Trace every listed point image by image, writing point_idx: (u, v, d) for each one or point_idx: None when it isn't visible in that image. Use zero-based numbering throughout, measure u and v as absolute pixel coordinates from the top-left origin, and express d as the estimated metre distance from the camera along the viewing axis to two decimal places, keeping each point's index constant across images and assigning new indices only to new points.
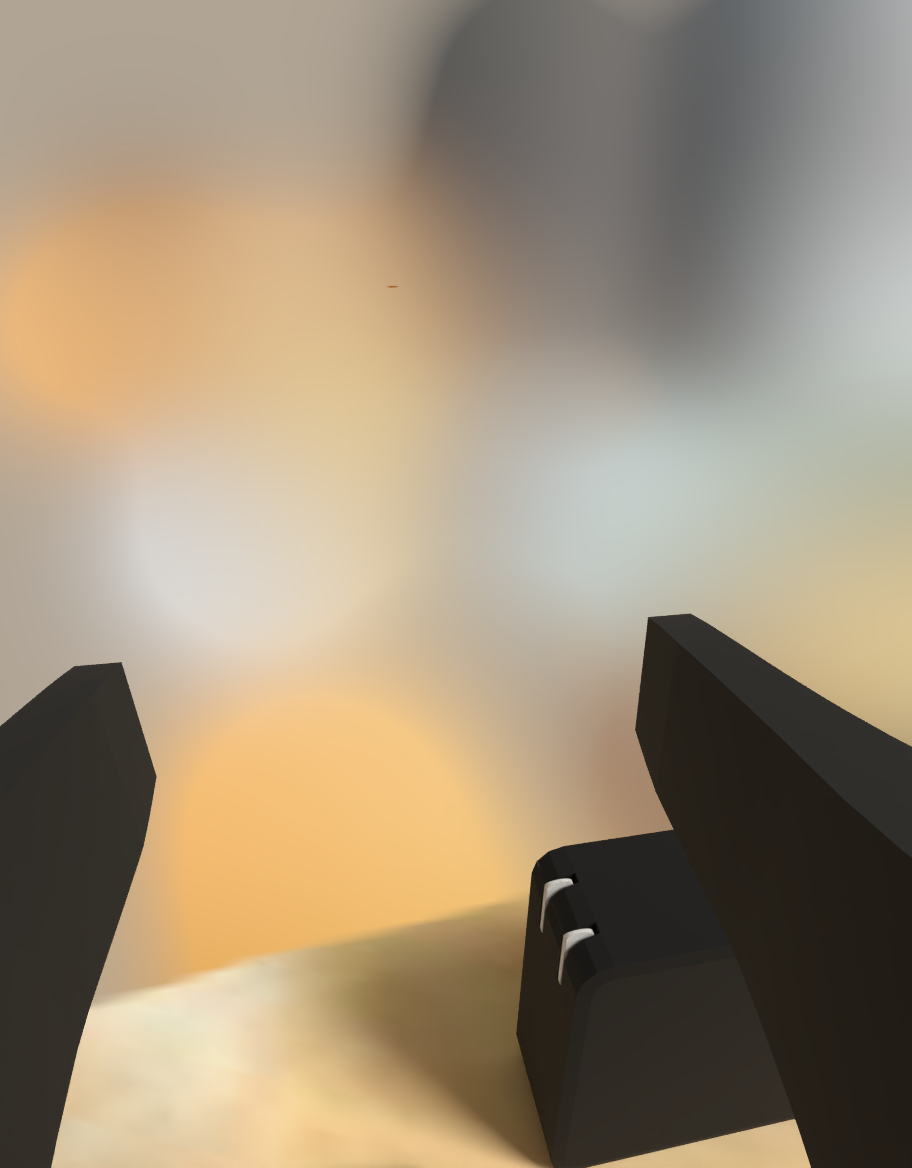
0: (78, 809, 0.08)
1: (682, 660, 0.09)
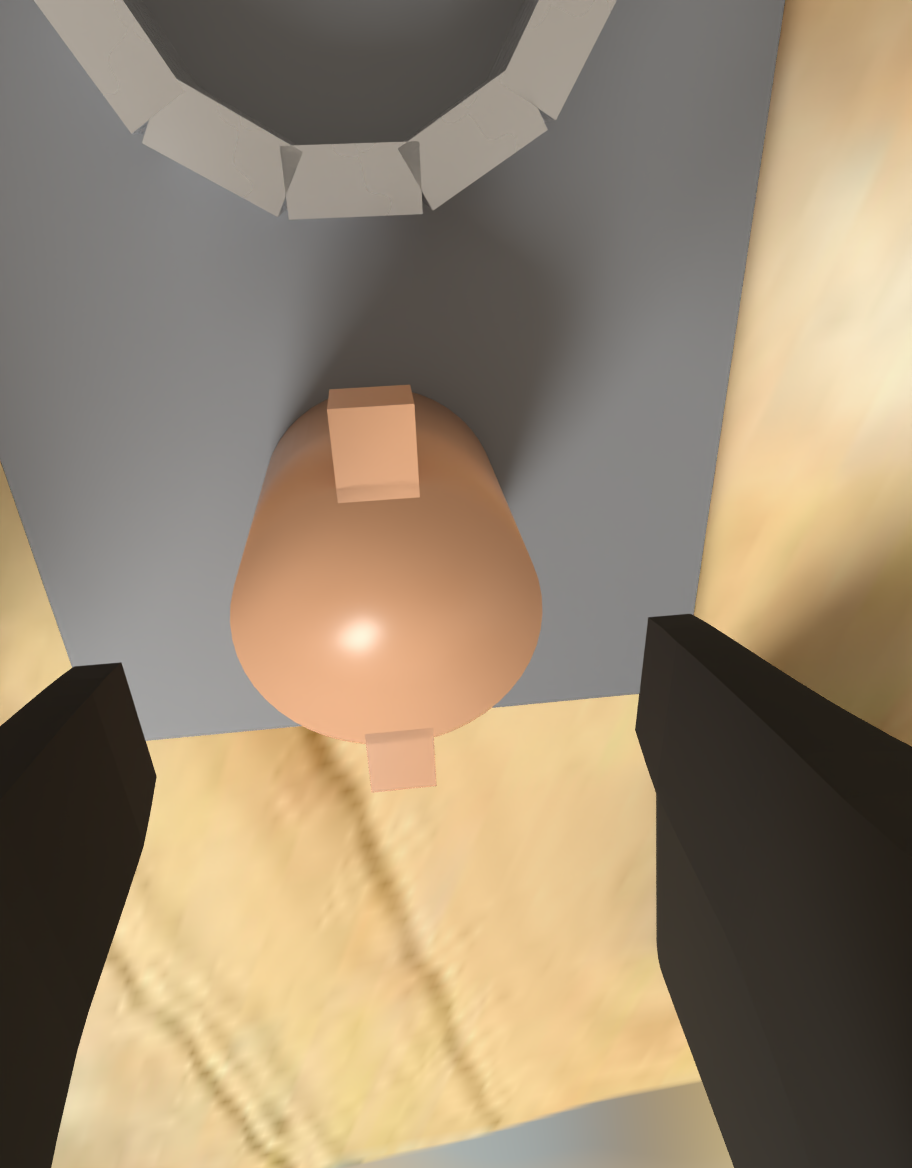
0: (78, 809, 0.08)
1: (682, 660, 0.09)
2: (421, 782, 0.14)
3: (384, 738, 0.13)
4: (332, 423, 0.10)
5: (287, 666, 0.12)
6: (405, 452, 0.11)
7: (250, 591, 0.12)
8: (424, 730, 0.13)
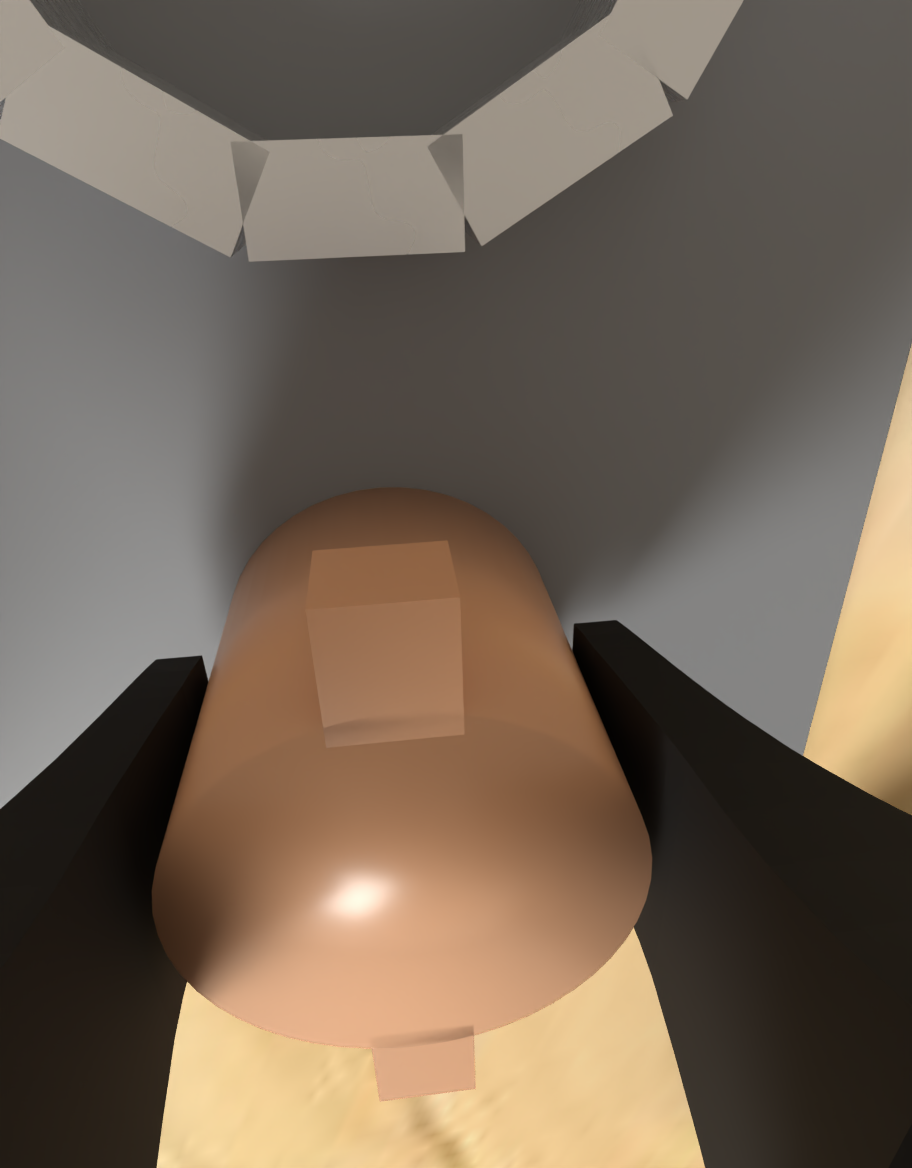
0: (172, 800, 0.09)
1: (599, 667, 0.09)
2: (454, 1085, 0.09)
3: (401, 1041, 0.09)
4: (315, 631, 0.06)
5: (248, 964, 0.08)
6: (442, 670, 0.06)
7: (184, 872, 0.07)
8: (461, 1027, 0.09)
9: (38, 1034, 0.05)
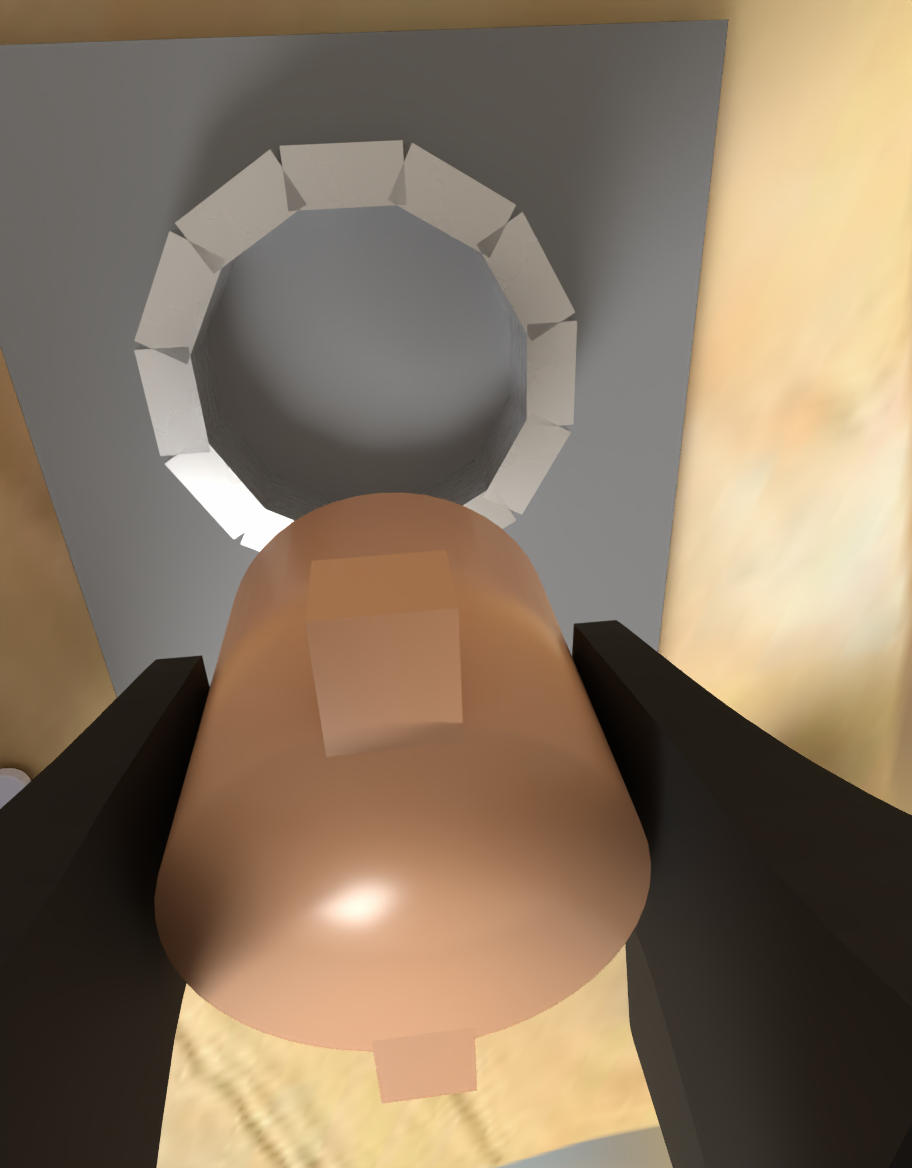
0: (172, 800, 0.09)
1: (599, 667, 0.09)
2: (455, 1087, 0.10)
3: (402, 1043, 0.09)
4: (315, 643, 0.06)
5: (250, 970, 0.08)
6: (441, 680, 0.06)
7: (186, 880, 0.07)
8: (461, 1031, 0.09)
9: (38, 1033, 0.05)
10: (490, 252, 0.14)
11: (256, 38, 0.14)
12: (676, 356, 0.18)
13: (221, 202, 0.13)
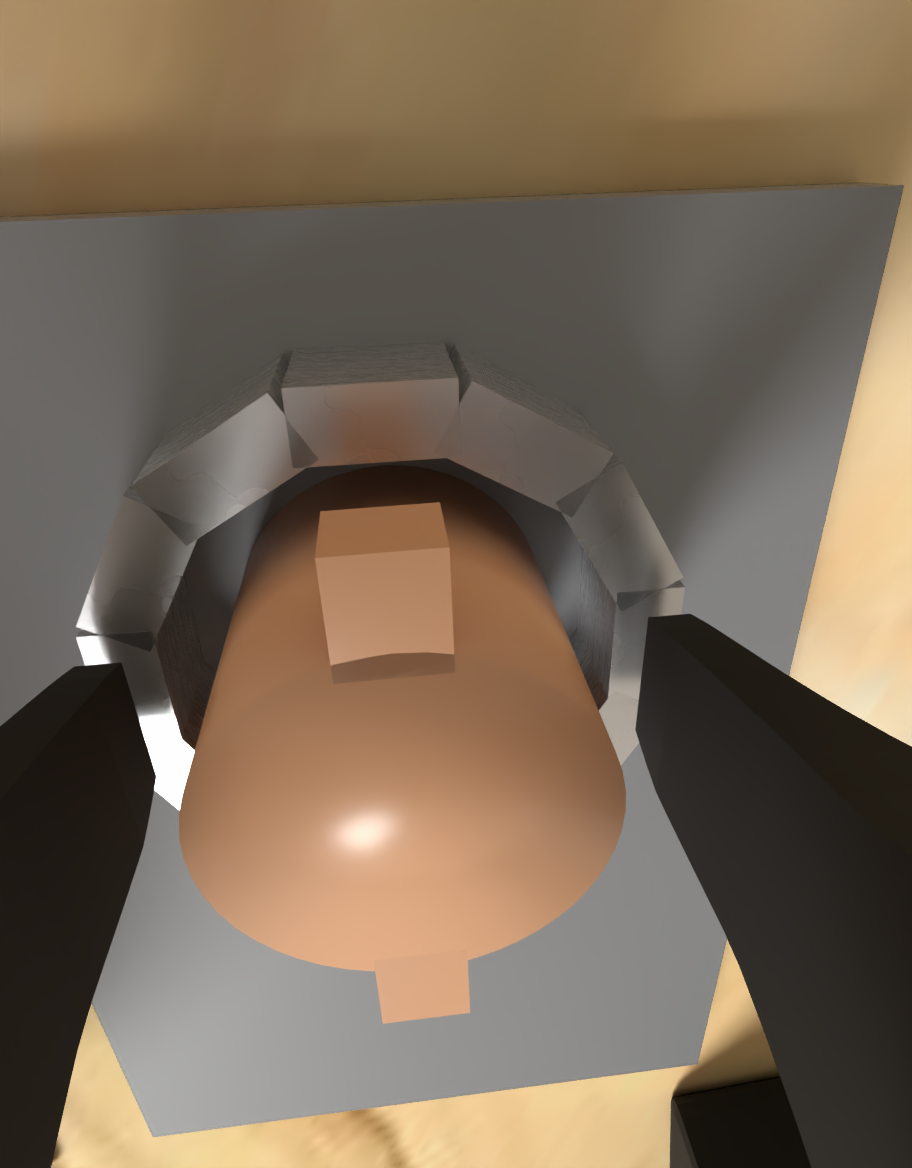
0: (78, 809, 0.08)
1: (682, 660, 0.09)
2: (450, 1009, 0.10)
3: (400, 965, 0.10)
4: (323, 577, 0.07)
5: (264, 888, 0.09)
6: (434, 613, 0.07)
7: (207, 800, 0.08)
8: (455, 952, 0.10)
9: None
10: (573, 511, 0.10)
11: (250, 214, 0.10)
12: (792, 583, 0.14)
13: (197, 460, 0.09)
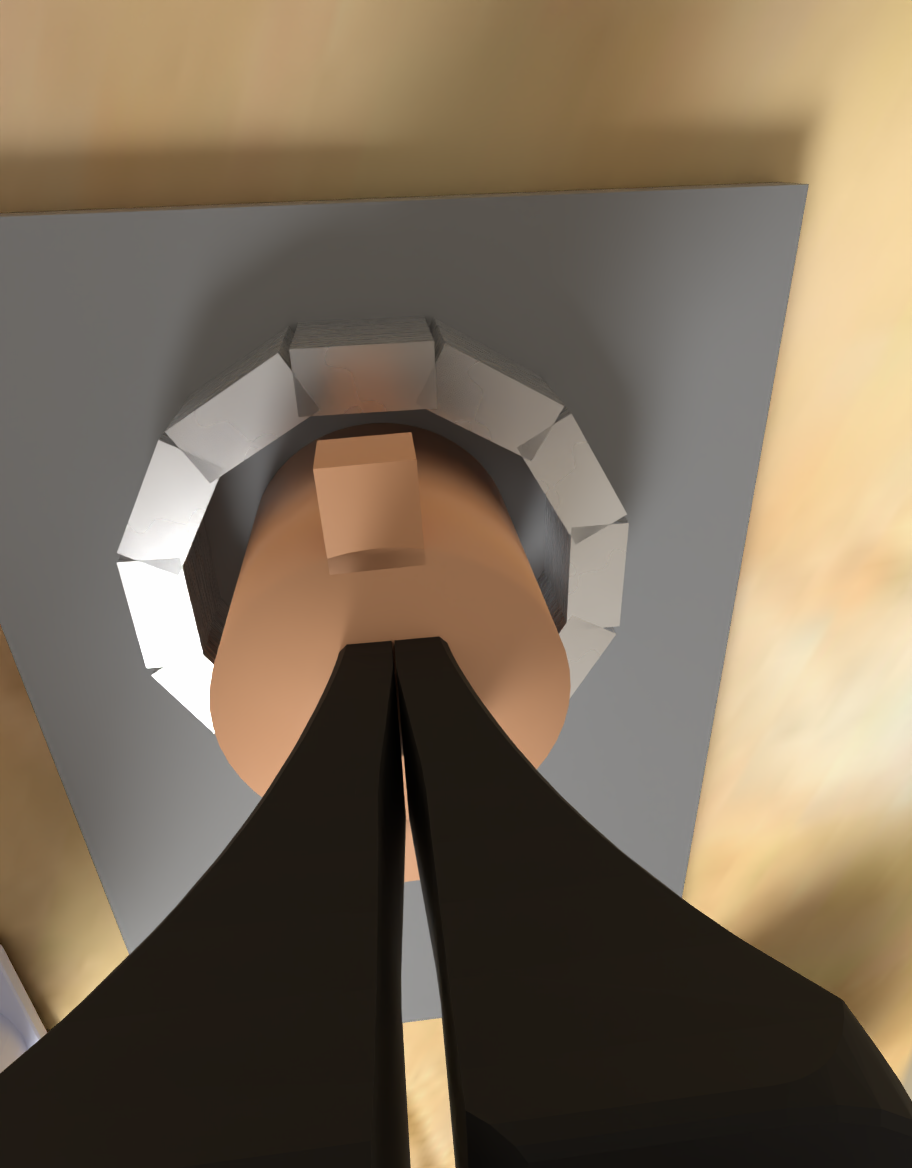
0: (393, 777, 0.09)
1: (399, 686, 0.09)
2: None
3: None
4: (319, 485, 0.09)
5: (278, 755, 0.11)
6: (407, 515, 0.09)
7: (231, 675, 0.10)
8: None
9: (385, 992, 0.06)
10: (532, 455, 0.12)
11: (262, 208, 0.12)
12: (731, 530, 0.16)
13: (219, 409, 0.11)
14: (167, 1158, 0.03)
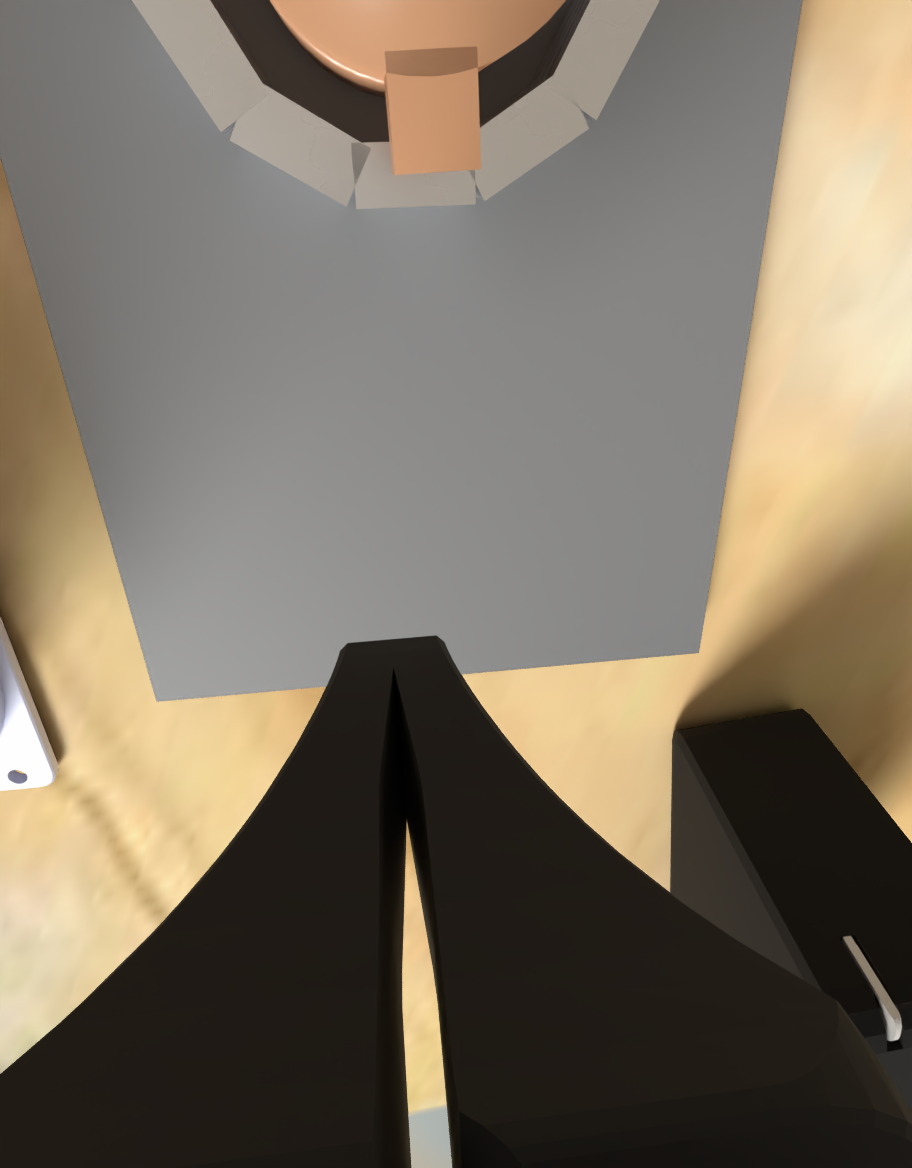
0: (394, 777, 0.09)
1: (396, 686, 0.09)
2: (461, 159, 0.10)
3: (411, 63, 0.10)
4: None
5: None
6: None
7: None
8: (466, 50, 0.10)
9: (386, 991, 0.06)
10: None
11: None
12: None
13: None
14: (169, 1158, 0.03)
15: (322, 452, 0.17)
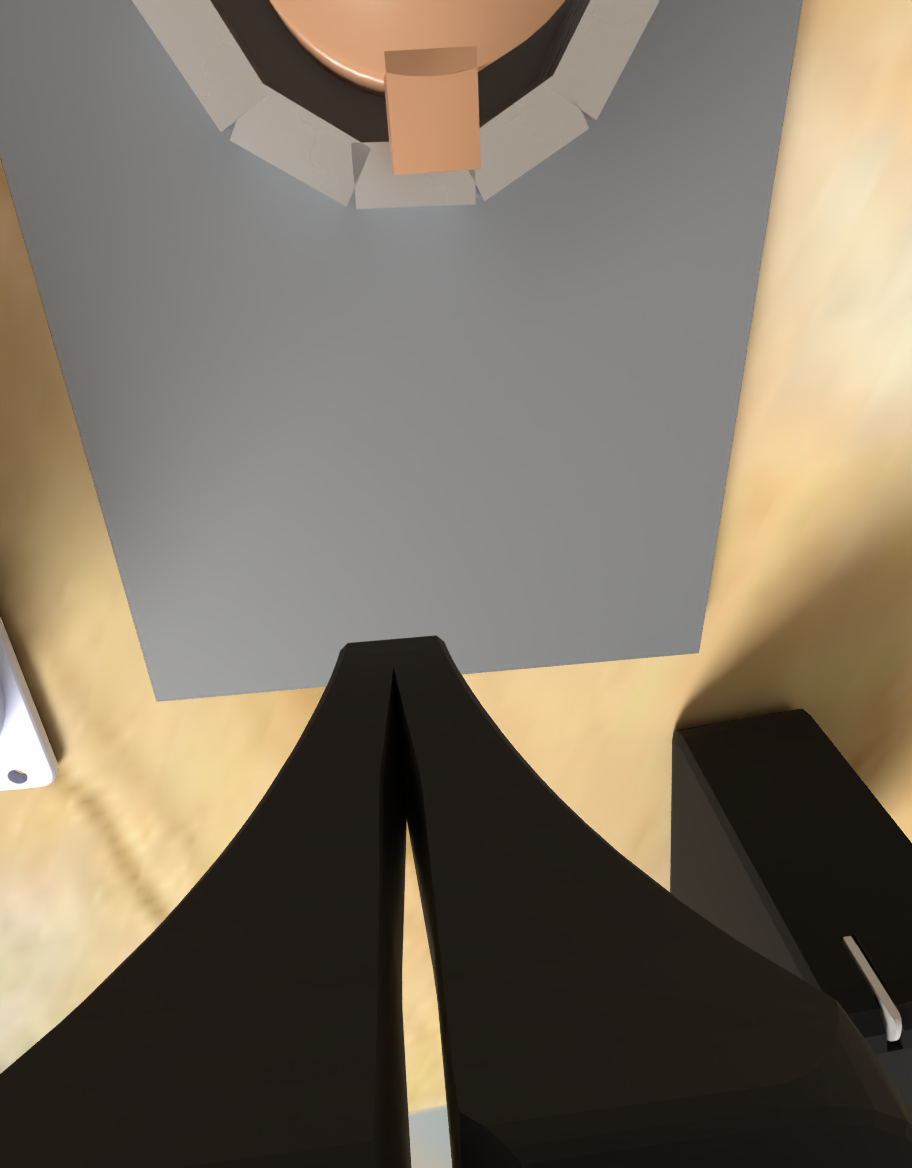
0: (394, 777, 0.09)
1: (396, 686, 0.09)
2: (461, 159, 0.10)
3: (411, 63, 0.10)
4: None
5: None
6: None
7: None
8: (466, 49, 0.10)
9: (386, 991, 0.06)
10: None
11: None
12: None
13: None
14: (169, 1158, 0.03)
15: (322, 452, 0.17)
